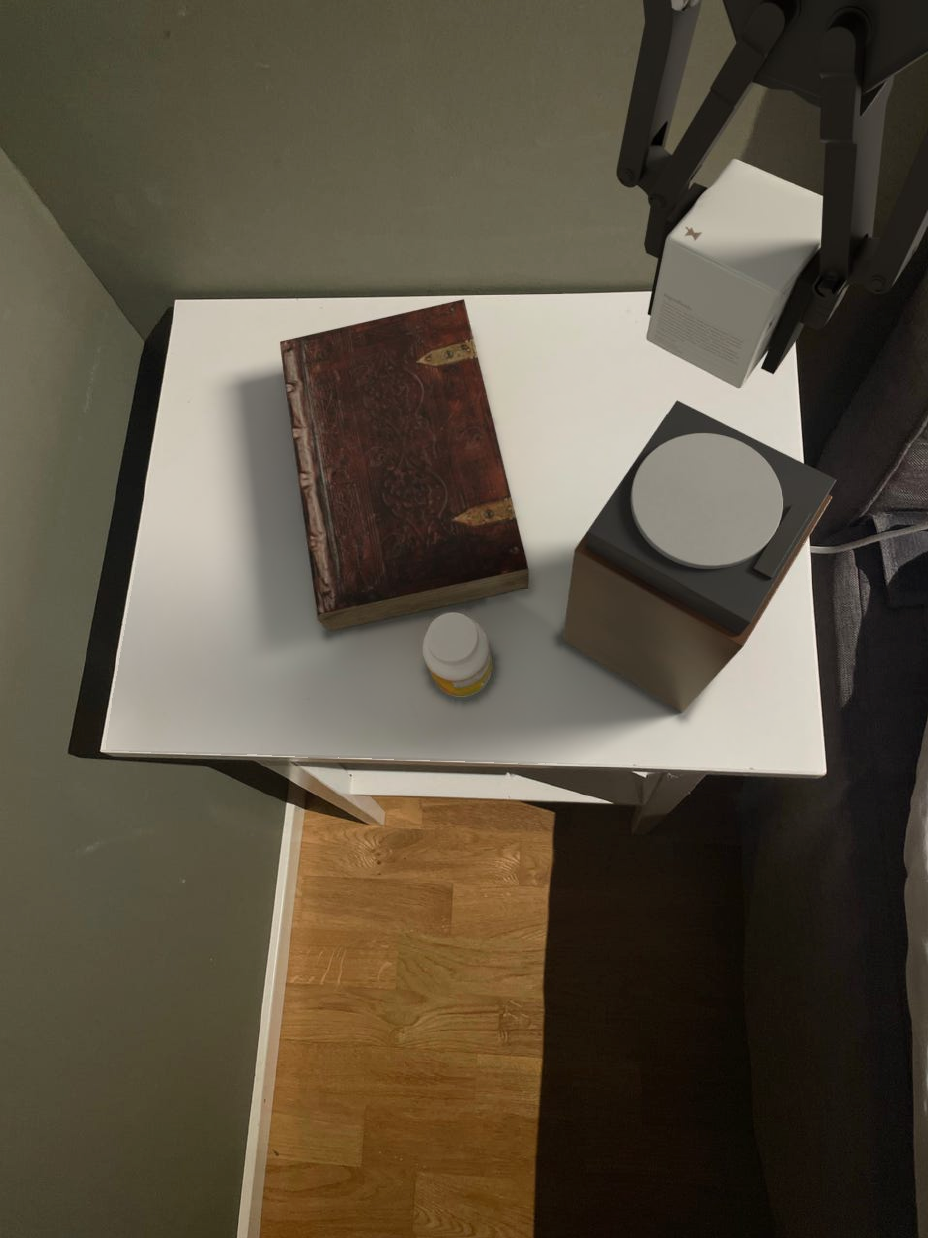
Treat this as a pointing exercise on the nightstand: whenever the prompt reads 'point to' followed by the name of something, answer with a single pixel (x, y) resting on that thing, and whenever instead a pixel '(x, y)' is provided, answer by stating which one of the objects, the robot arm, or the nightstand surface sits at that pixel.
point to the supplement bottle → (457, 654)
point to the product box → (734, 270)
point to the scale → (709, 516)
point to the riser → (651, 627)
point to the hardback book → (399, 468)
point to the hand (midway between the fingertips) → (721, 325)
